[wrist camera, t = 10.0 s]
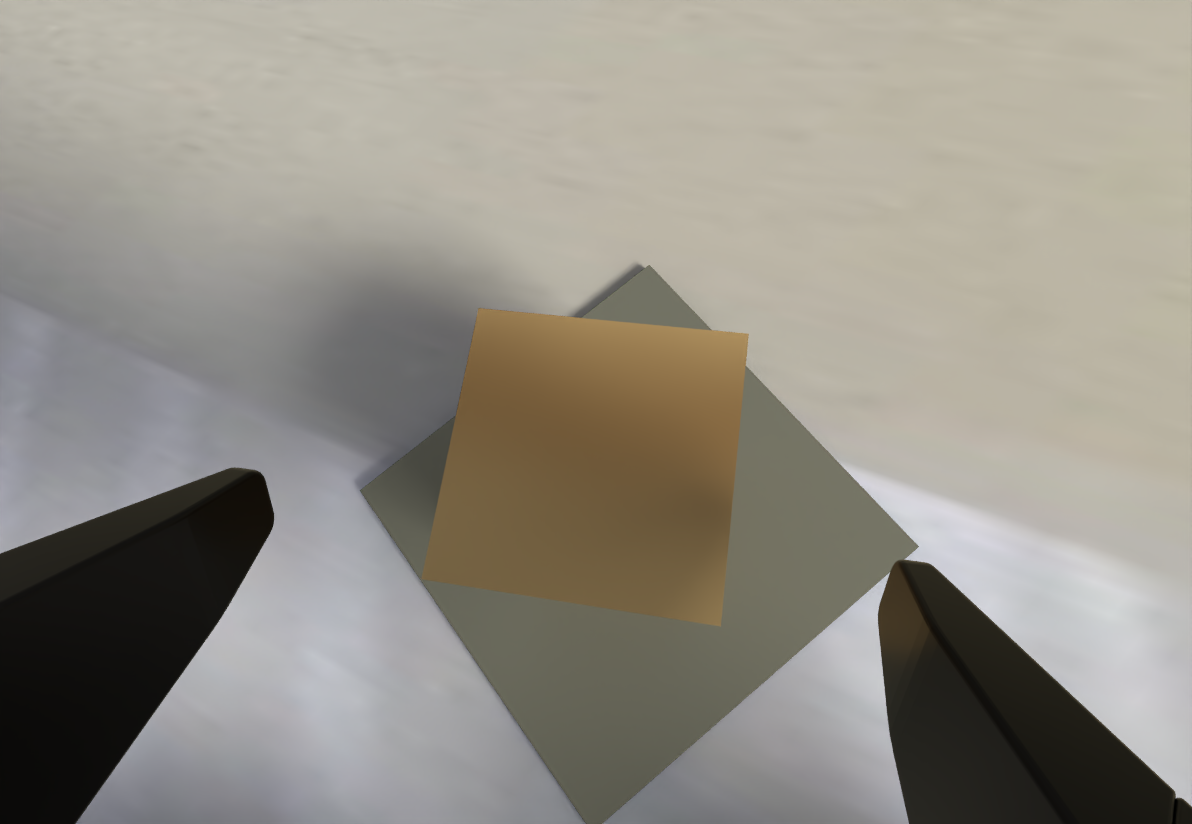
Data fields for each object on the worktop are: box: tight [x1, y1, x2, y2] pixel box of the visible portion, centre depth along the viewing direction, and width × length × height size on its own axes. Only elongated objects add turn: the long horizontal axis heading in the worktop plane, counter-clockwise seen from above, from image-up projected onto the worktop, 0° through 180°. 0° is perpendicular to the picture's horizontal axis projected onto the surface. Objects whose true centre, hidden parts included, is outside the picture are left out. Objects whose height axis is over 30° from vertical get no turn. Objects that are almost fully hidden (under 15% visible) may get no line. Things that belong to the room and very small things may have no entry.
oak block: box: [421, 308, 749, 626], centre depth 16 cm, size 5×5×9 cm
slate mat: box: [360, 265, 919, 824], centre depth 20 cm, size 12×12×1 cm
